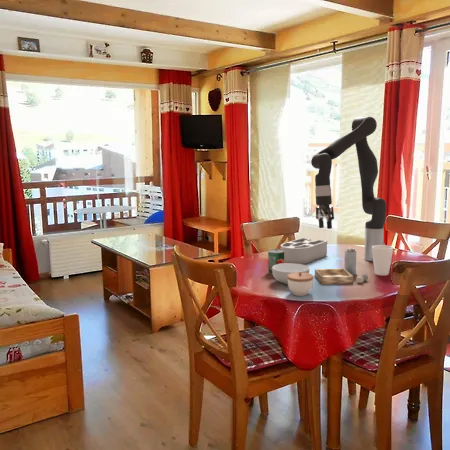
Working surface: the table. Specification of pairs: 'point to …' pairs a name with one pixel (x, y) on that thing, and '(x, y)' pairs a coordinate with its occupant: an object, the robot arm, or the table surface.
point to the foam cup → (382, 258)
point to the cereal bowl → (287, 270)
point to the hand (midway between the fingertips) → (325, 228)
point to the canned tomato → (275, 258)
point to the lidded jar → (300, 283)
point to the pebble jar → (350, 261)
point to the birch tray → (333, 276)
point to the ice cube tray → (303, 250)
